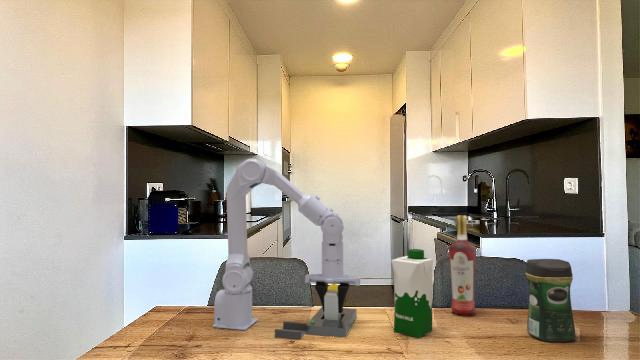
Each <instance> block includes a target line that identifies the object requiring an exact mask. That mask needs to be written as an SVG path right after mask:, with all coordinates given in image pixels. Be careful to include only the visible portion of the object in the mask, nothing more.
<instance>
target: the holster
mask: <svg viewBox="0 0 640 360" xmlns="http://www.w3.org/2000/svg"><path fill="white" fill-rule="evenodd" d="M307 323H308V322H297V321H290V320H289V321H288V320H287V321H286V320H284V321H283V322H282V327H283V328H275V329H274V338H277V339H288V340H298V341H301V339H303V337H304V336H305V335H306V325H307Z"/></svg>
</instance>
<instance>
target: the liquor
mask: <svg viewBox="0 0 640 360" xmlns="http://www.w3.org/2000/svg"><path fill="white" fill-rule="evenodd" d="M467 219H468V218H467V215H456V223H457V233H456V242H454V243H451V244H450V245H449V246H448V252H449V254H448V255H449V270H450V281H451V282H450V283H451V303H452V304H451V307H450V309H451V310H452V311H453V312H454V314H455V315H458V316H463V317H464V316H465V317H466V316H467V317H469V316H472V315H473V314H474V313H475V312H477V309H476V306H475V305H476V304H475V296H476V295H475V293H476V292H475V290H476V289H475V287H476V286H475V284H476V266H477V263H476V262H477V261H476V260H477V259H476V256H477V255H476V254H477V248H476V247H475V246H474V245H473V244H471V243H469V241H468V233H467V223H468V222H467Z"/></svg>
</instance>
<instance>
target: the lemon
mask: <svg viewBox="0 0 640 360" xmlns="http://www.w3.org/2000/svg"><path fill="white" fill-rule="evenodd" d="M338 286H339V284H328V290H335V291H338ZM328 290H327V291H328Z"/></svg>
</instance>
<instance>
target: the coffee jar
mask: <svg viewBox="0 0 640 360" xmlns="http://www.w3.org/2000/svg"><path fill="white" fill-rule="evenodd" d="M525 264H526V265H525V266H526V267H525V278H526V279H527V282H528V287H529V289H528V291H529V297H528V308H527V311H528V312H527V324H526V325H527V326H526V327H527V328H526V330H527V332H528V333H529V335H530V336H531V337H534V339H539V340H541V341H544V342H570V341H571V342H572V341H575V339H576V329H575V328H576V327H575V321H574V316H573V308H572V299H571V286H572V283H573V279H574V276H573V272H572V265H571V264H570V262H569V261H566V260H563V259H559V258H535V259H534V258H533V259H527V260H526V263H525Z"/></svg>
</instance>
